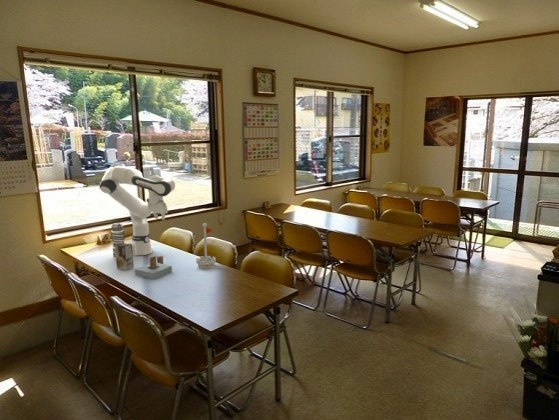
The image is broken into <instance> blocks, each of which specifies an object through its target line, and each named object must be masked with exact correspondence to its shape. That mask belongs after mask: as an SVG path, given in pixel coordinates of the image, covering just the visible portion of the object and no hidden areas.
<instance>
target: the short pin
mask: <svg viewBox="0 0 559 420" xmlns="http://www.w3.org/2000/svg"><path fill="white" fill-rule="evenodd" d="M156 263H161V264H164V256H163V255H158V256H156Z"/></svg>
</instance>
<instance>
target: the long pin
mask: <svg viewBox="0 0 559 420" xmlns="http://www.w3.org/2000/svg"><path fill="white" fill-rule="evenodd" d="M149 264H150V269H156V268H157V256H156V255H152V256H149Z"/></svg>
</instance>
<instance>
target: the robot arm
mask: <svg viewBox="0 0 559 420" xmlns="http://www.w3.org/2000/svg"><path fill="white" fill-rule="evenodd" d="M121 183H123V184H126V185H129V186H136V187H140V188H142V189H146V190H147V193H148V197H147V198H146V199H145V200H146V202H145V201H144V200H142V199H141V198H139V197H138V196H137V195H135V194H134V193H133V192H131V191H130V190H129V189H128V188H126V187H125V186H124V185H122V184H121ZM175 188H176V183H175V181H174V180H173V179H172V178H166V177H162V176H159V174H153V175H150V176H148V177H147V178H145V177H143V173H142V172H141V171H140V170H138V169H136V168H133V167H129V166H122V165H120V164H117V163H116V164H115V163H114V164H113V163H112V164H111V165H110V166H109V167H108V169H107V170H106V171H105V172H104V175H103V177H102V179H101V180H100V182H99V189H100V191H101V192H103V193H104V194H108V195H109V196H110V197H111V198H112V199H114V201H116V202H117V203H119V204H120V205H121V206H122V207H124V208H126V209H127V210H128V212H129V215H130V219H131V224H132V233H133V234H132V235H130V238H131V240H129V241H128V243H126V244H132V253H133V257H135V256H136V257H137V256H145V255H146V256H147V255H149V254H152V253H153V247H152V243H151V233H150V229H149V222H148V220H147V218H148V217H150V216H151V214H152V215H153V217H154V219H156V220H157V219H159V216H158V214H160V215H161V217H160V218H161V220H162V221H164V220H166V214H168V212H169V211H168V206H167V203H166V202H165V201H164V198H163V197H167V196H168V195H169V194H171V193H172V192H173V191H174V190H175Z"/></svg>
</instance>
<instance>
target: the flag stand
mask: <svg viewBox="0 0 559 420" xmlns="http://www.w3.org/2000/svg"><path fill="white" fill-rule="evenodd" d="M207 226H208V224H207V223H206V222H203V224H202V227H203V242H204V245H203V246H204V247H203V248H204V256H202V255H201V256H200V257H197V258H196V259H195V263H196V264H197V268H198V267H199V268H198V269H200V268H201V270H210V269H212V268H213V269H214V267H215V264H216V262H217V258H216V257H215V256H211V255H208V249H207V248H208V246H207V243H208V241H207V234H208V233H210V232H212V231H213V229H211V228H208V227H207Z"/></svg>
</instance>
